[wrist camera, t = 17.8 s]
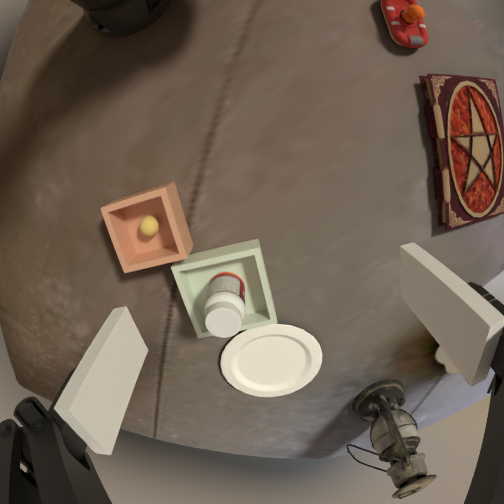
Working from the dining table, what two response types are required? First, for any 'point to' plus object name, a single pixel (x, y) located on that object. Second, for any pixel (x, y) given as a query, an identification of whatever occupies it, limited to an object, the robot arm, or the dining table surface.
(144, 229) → the yellow ball
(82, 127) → the dining table surface
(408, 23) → the toy boat
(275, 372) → the plate
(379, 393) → the lantern
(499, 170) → the book
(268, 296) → the green tray
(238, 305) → the pill bottle
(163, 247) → the orange open box
